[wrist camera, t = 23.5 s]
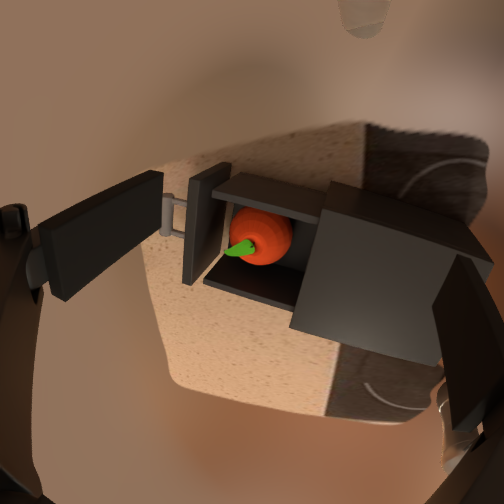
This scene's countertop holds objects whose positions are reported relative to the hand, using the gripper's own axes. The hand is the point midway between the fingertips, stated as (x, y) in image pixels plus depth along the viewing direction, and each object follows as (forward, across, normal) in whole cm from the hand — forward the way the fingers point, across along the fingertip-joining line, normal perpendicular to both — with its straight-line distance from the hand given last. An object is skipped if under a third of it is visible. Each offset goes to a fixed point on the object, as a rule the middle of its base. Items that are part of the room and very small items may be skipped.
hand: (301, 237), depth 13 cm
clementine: (+23, -6, -10) cm, 26 cm away
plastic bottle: (+25, +30, -30) cm, 49 cm away
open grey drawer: (+24, -7, -11) cm, 27 cm away
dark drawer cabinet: (+25, +9, -11) cm, 28 cm away
